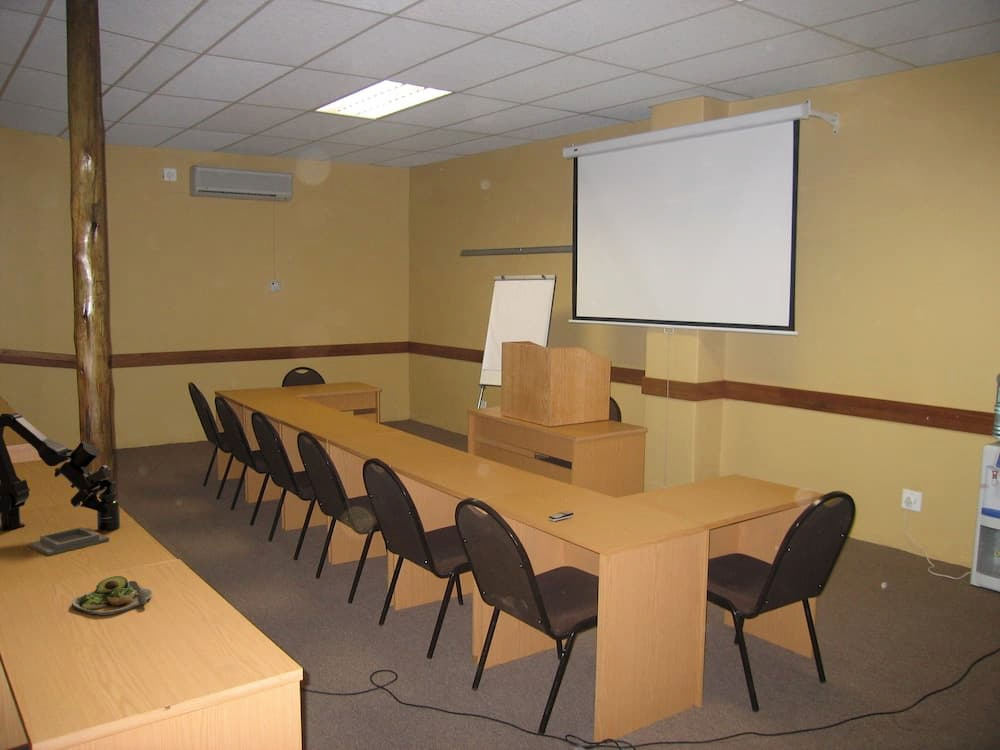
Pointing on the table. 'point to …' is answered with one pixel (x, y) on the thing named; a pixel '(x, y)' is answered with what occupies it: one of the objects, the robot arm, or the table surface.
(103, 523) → the supplement bottle
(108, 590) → the salad plate
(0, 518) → the robot arm
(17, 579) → the table surface
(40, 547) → the grey recessed tray
